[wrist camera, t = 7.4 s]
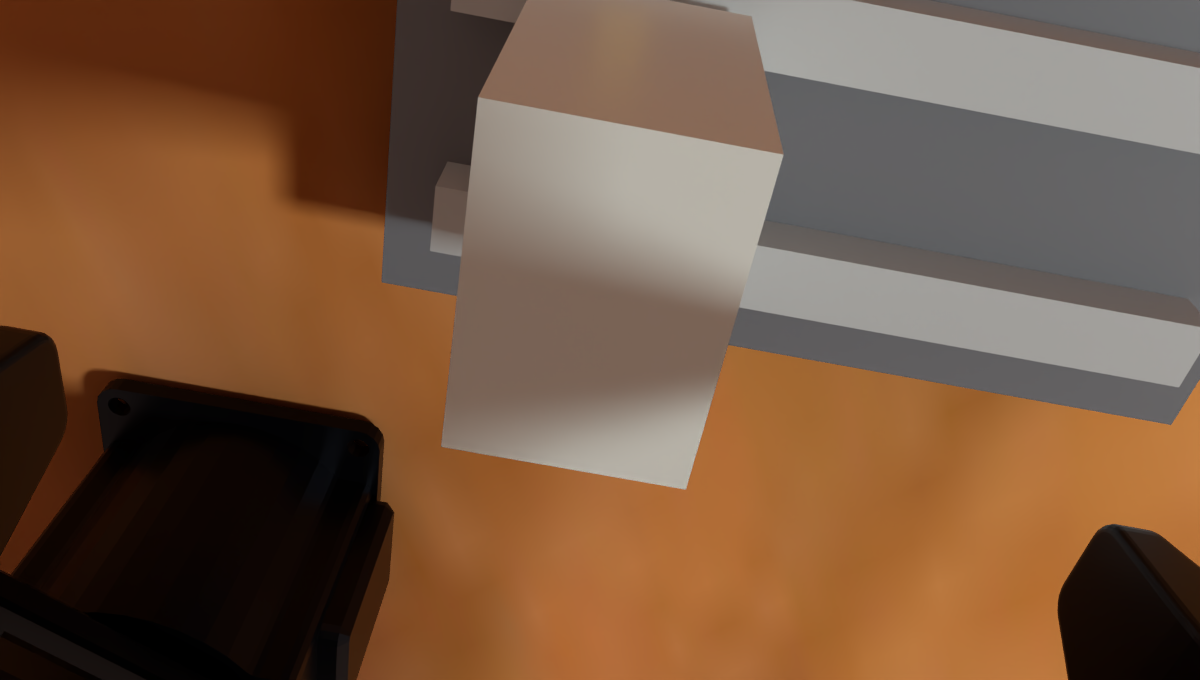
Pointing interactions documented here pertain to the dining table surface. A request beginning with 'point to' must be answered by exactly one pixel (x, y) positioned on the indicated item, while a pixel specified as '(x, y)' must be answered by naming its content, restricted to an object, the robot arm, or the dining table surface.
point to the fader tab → (608, 234)
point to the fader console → (912, 187)
